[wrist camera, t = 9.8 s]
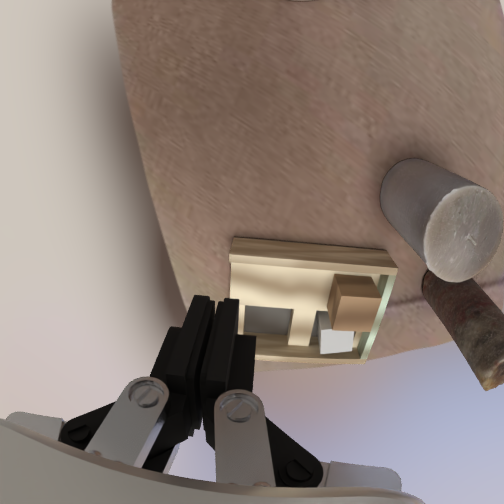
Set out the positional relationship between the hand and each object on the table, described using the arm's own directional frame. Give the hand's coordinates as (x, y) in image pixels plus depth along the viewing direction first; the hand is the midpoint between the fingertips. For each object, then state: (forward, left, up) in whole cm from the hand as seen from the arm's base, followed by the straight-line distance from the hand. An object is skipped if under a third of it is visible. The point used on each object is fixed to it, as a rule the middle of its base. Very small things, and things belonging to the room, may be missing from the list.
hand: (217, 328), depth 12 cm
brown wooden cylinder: (+12, +29, -27) cm, 42 cm away
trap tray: (+16, +8, -27) cm, 32 cm away
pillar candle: (0, +20, -27) cm, 34 cm away
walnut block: (+13, +13, -25) cm, 31 cm away
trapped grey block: (+20, +13, -27) cm, 36 cm away
